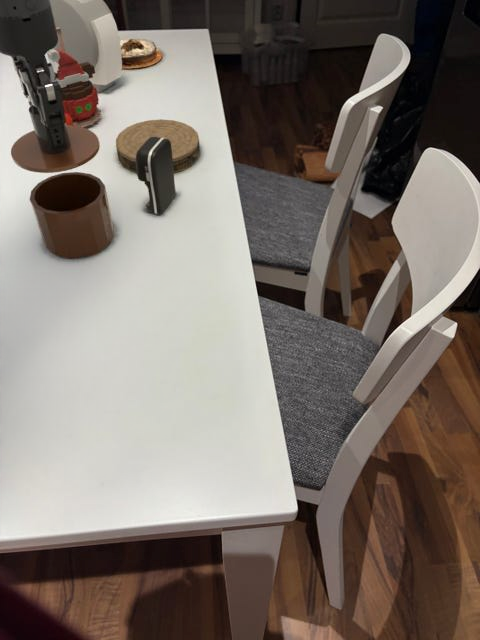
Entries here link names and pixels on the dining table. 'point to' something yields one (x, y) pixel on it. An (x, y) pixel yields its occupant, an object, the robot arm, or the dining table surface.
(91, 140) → the crock lid
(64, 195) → the crock
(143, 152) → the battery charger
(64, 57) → the cake
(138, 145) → the wood log slice
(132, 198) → the dining table surface
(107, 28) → the alarm clock
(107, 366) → the dining table surface
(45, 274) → the dining table surface
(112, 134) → the dining table surface
